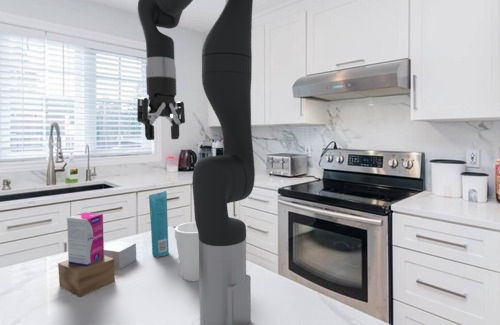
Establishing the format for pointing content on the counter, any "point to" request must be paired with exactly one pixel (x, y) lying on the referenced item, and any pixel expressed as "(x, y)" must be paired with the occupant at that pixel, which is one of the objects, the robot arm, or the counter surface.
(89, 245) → the supplement box
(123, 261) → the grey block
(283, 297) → the counter surface
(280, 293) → the counter surface
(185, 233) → the foam cup
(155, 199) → the tube
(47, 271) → the counter surface
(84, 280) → the walnut block
